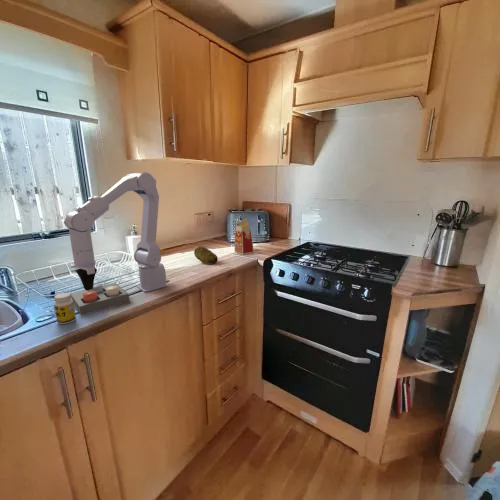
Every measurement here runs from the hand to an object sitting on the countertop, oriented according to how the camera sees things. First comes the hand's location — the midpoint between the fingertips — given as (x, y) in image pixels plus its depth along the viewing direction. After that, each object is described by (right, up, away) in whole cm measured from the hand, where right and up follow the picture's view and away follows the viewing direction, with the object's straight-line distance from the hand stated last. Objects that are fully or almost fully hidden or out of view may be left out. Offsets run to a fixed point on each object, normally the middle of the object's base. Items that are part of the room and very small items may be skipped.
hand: (88, 289), depth 91 cm
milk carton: (+50, +11, +71) cm, 87 cm away
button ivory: (+5, -3, +6) cm, 8 cm away
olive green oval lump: (+31, +6, +51) cm, 60 cm away
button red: (0, -5, +1) cm, 5 cm away
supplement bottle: (-2, -9, -7) cm, 12 cm away
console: (+1, -5, +6) cm, 8 cm away
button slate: (-1, -3, +8) cm, 8 cm away
